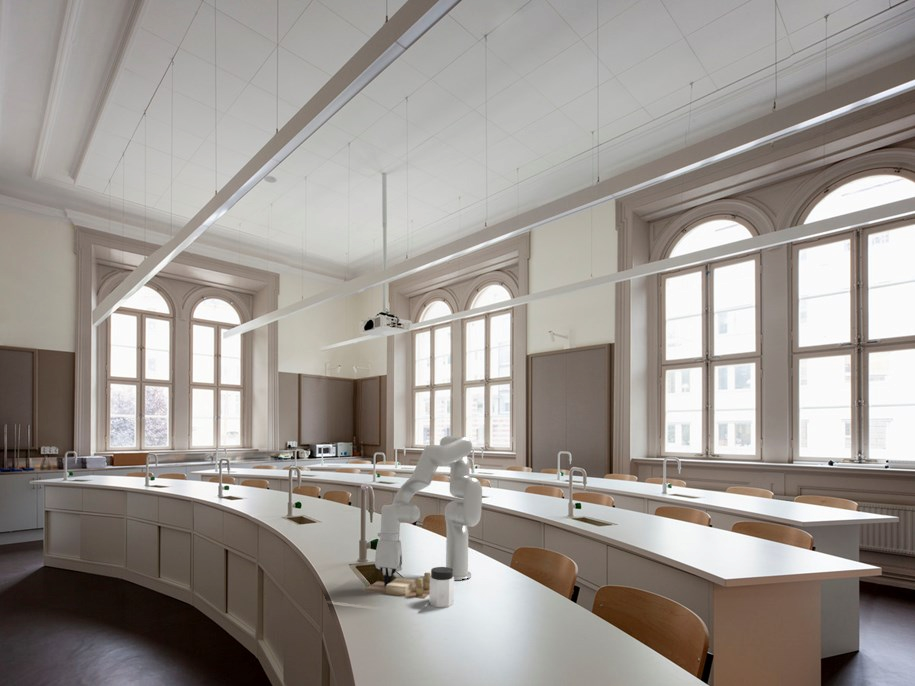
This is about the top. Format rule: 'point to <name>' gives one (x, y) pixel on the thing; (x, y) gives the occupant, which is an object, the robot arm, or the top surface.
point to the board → (415, 593)
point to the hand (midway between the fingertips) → (388, 585)
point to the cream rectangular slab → (401, 586)
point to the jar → (441, 587)
